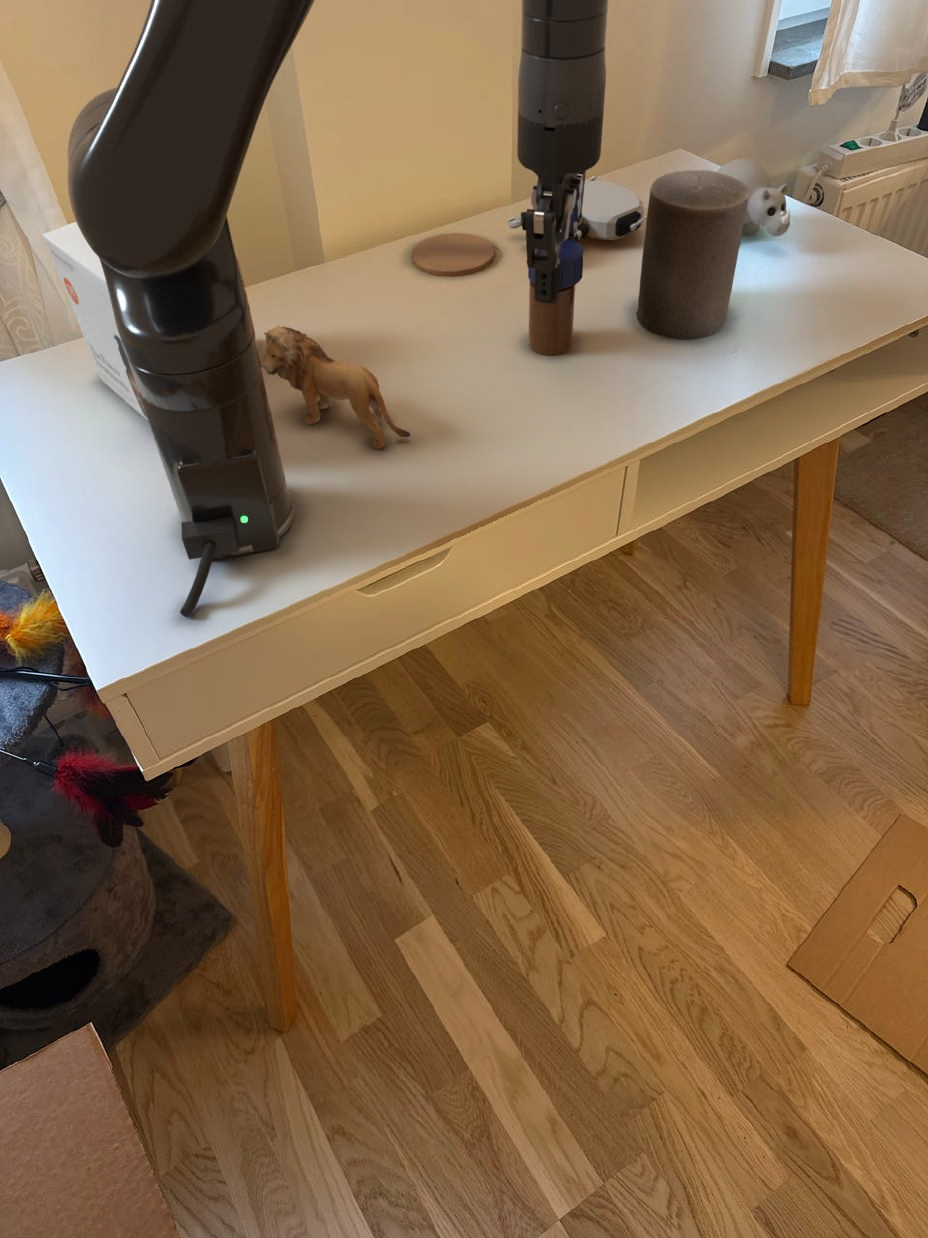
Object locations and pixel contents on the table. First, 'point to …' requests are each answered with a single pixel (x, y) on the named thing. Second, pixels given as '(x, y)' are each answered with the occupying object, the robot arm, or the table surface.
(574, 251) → the lid
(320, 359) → the lion figurine
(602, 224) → the robot toy
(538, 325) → the jar
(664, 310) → the pillar candle
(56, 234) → the skincare box
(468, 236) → the coaster
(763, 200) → the toy rhinoceros
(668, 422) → the table surface
